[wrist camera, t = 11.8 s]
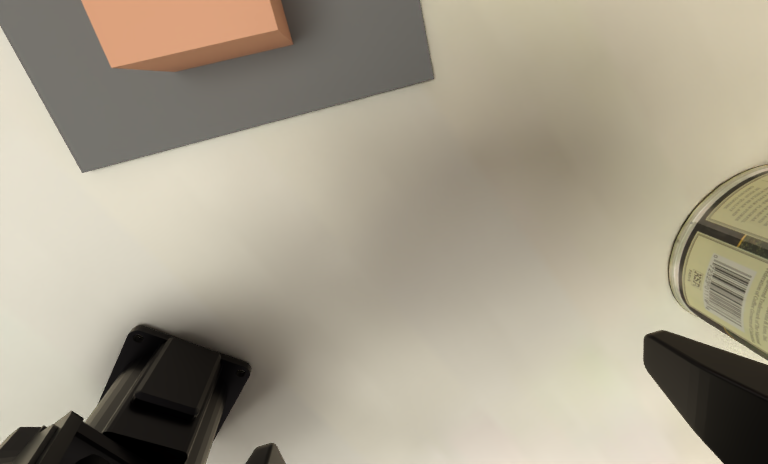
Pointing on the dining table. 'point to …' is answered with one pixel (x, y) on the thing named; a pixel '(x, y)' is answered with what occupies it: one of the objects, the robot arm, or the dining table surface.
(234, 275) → the dining table surface
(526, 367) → the dining table surface
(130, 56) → the terracotta block
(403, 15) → the charcoal mat
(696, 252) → the coffee can
